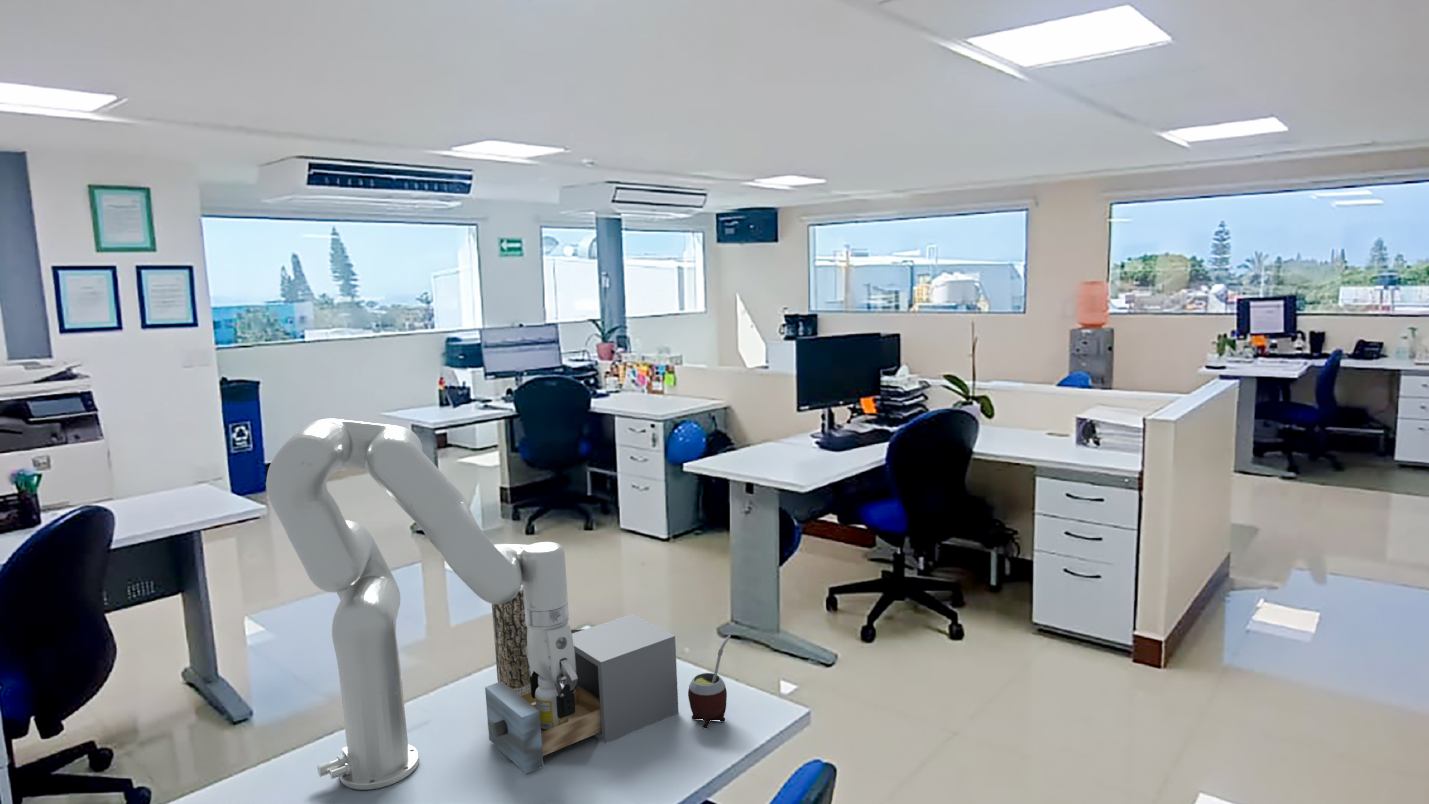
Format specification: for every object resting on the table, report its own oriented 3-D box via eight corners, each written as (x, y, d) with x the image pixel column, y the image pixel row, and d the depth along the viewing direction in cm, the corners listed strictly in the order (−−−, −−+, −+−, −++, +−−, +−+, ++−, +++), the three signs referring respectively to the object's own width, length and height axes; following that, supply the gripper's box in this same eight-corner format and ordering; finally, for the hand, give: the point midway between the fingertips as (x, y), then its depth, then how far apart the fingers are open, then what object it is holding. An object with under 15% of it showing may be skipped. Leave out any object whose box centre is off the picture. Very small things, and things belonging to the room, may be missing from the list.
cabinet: (605, 743, 151) (601, 662, 149) (565, 713, 162) (560, 637, 160) (678, 712, 161) (675, 635, 159) (635, 685, 172) (632, 614, 170)
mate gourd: (685, 728, 155) (682, 650, 153) (695, 706, 163) (692, 632, 161) (725, 731, 154) (722, 652, 152) (733, 709, 161) (731, 634, 159)
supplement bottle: (565, 717, 156) (561, 666, 155) (571, 731, 151) (567, 679, 150) (535, 723, 154) (531, 672, 153) (540, 738, 149) (536, 685, 148)
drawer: (517, 777, 141) (512, 720, 139) (480, 742, 152) (476, 689, 150) (617, 735, 153) (614, 682, 151) (576, 705, 164) (573, 656, 162)
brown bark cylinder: (540, 700, 168) (532, 578, 164) (529, 718, 161) (520, 591, 157) (506, 699, 168) (497, 578, 165) (494, 717, 162) (485, 591, 158)
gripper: (590, 621, 145) (596, 716, 148) (542, 594, 159) (548, 681, 161) (551, 634, 141) (557, 731, 143) (505, 605, 154) (511, 694, 156)
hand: (552, 705), depth 152 cm, fingers open, 9 cm apart
